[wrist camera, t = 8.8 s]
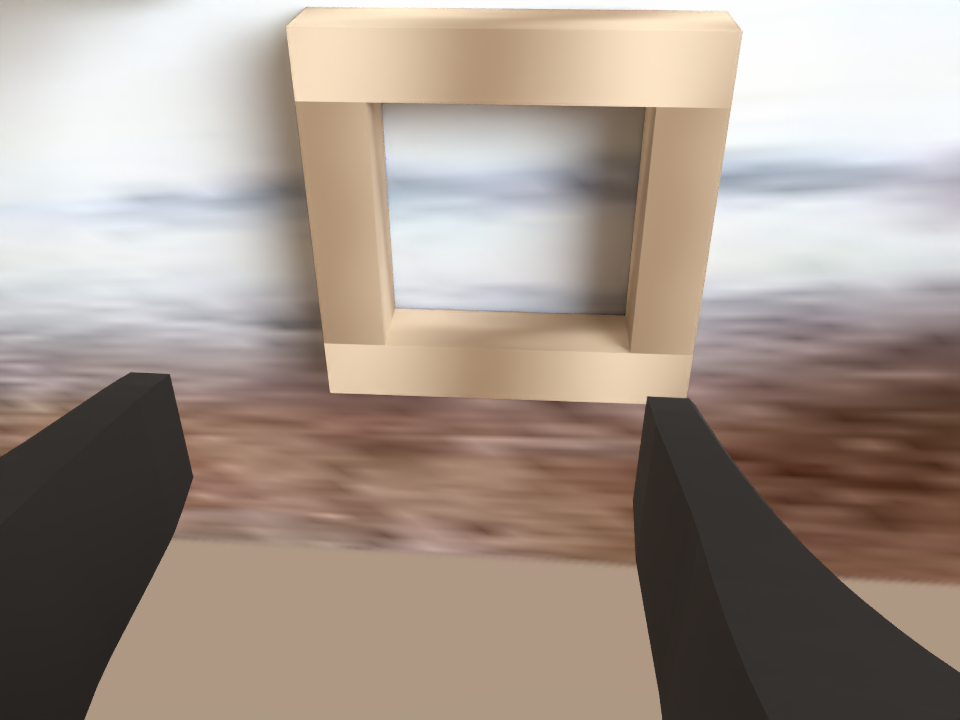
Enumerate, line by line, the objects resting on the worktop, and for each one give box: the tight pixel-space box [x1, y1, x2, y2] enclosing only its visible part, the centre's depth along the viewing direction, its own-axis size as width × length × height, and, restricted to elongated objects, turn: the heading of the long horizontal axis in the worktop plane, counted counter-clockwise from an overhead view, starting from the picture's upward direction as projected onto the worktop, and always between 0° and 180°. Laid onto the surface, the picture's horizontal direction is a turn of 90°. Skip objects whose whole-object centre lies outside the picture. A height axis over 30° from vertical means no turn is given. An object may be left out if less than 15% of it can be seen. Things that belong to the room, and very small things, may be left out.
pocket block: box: [286, 7, 742, 404], centre depth 21 cm, size 9×9×2 cm
